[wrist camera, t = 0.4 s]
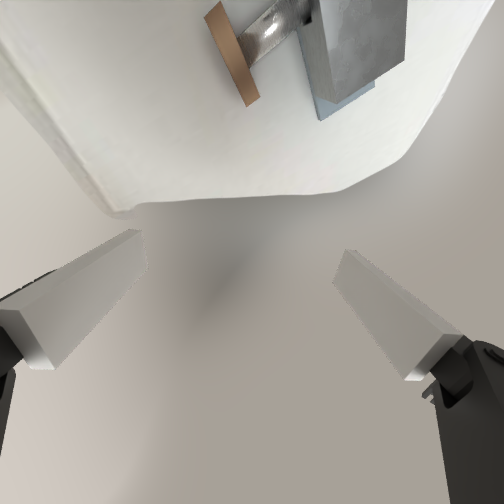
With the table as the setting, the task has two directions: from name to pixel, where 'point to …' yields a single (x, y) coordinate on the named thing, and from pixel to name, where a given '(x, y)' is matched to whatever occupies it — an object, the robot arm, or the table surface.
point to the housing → (350, 48)
